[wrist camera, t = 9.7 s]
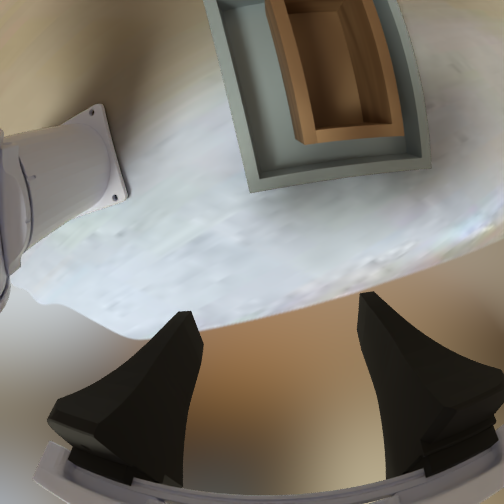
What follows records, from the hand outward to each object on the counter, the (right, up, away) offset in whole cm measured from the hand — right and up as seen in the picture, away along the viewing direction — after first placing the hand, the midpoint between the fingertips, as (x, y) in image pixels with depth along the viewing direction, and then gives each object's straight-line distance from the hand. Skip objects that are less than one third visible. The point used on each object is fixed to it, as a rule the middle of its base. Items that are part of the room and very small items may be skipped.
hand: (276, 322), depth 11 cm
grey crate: (+3, +14, +3) cm, 15 cm away
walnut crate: (+3, +14, +2) cm, 15 cm away
